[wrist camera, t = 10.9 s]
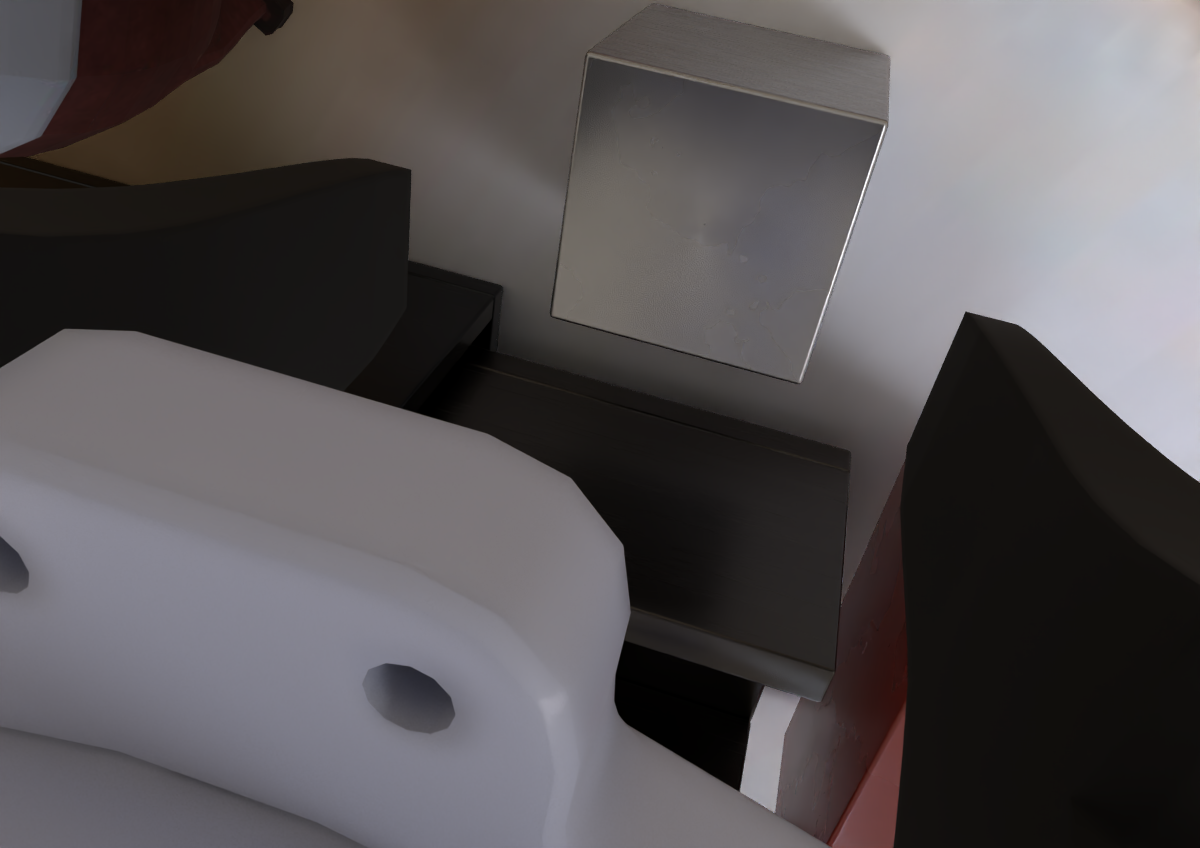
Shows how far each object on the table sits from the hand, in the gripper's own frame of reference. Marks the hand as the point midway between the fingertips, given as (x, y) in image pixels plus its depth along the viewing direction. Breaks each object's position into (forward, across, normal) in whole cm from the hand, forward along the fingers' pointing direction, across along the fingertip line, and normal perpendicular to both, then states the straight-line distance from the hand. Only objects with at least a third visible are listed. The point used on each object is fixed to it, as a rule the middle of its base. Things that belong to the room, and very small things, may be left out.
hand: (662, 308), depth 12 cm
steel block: (+7, 0, 0) cm, 7 cm away
